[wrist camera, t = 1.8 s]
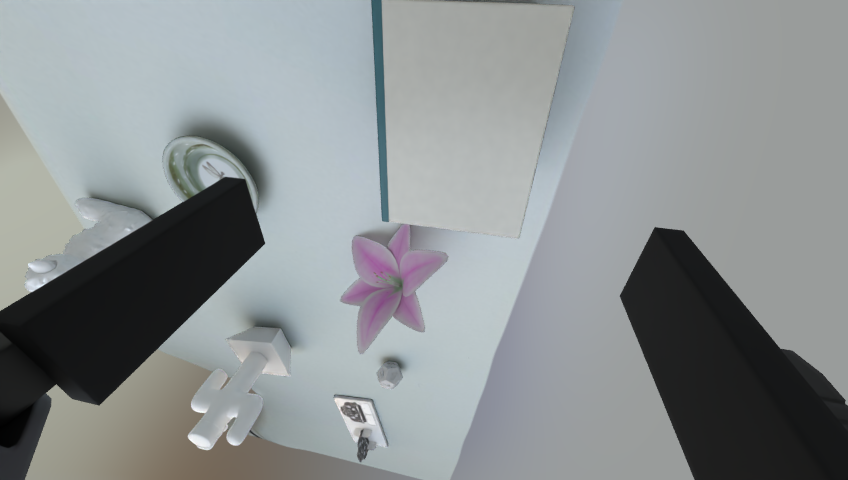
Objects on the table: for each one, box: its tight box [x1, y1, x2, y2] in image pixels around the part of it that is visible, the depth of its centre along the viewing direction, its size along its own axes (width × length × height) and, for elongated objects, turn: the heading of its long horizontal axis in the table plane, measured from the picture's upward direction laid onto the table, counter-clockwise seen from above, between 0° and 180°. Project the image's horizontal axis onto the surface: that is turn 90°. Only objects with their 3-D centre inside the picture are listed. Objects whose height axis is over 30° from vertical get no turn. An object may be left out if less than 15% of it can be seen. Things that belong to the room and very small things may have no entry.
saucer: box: [162, 136, 259, 213], centre depth 33 cm, size 10×10×2 cm
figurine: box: [188, 327, 291, 450], centre depth 43 cm, size 7×9×15 cm
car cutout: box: [333, 395, 388, 462], centre depth 57 cm, size 15×7×4 cm, turn 7°
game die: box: [377, 361, 403, 389], centre depth 46 cm, size 4×4×3 cm
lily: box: [340, 224, 449, 354], centre depth 33 cm, size 12×12×10 cm
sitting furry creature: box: [24, 198, 152, 292], centre depth 36 cm, size 10×9×12 cm
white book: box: [371, 0, 574, 239], centre depth 19 cm, size 12×9×4 cm
